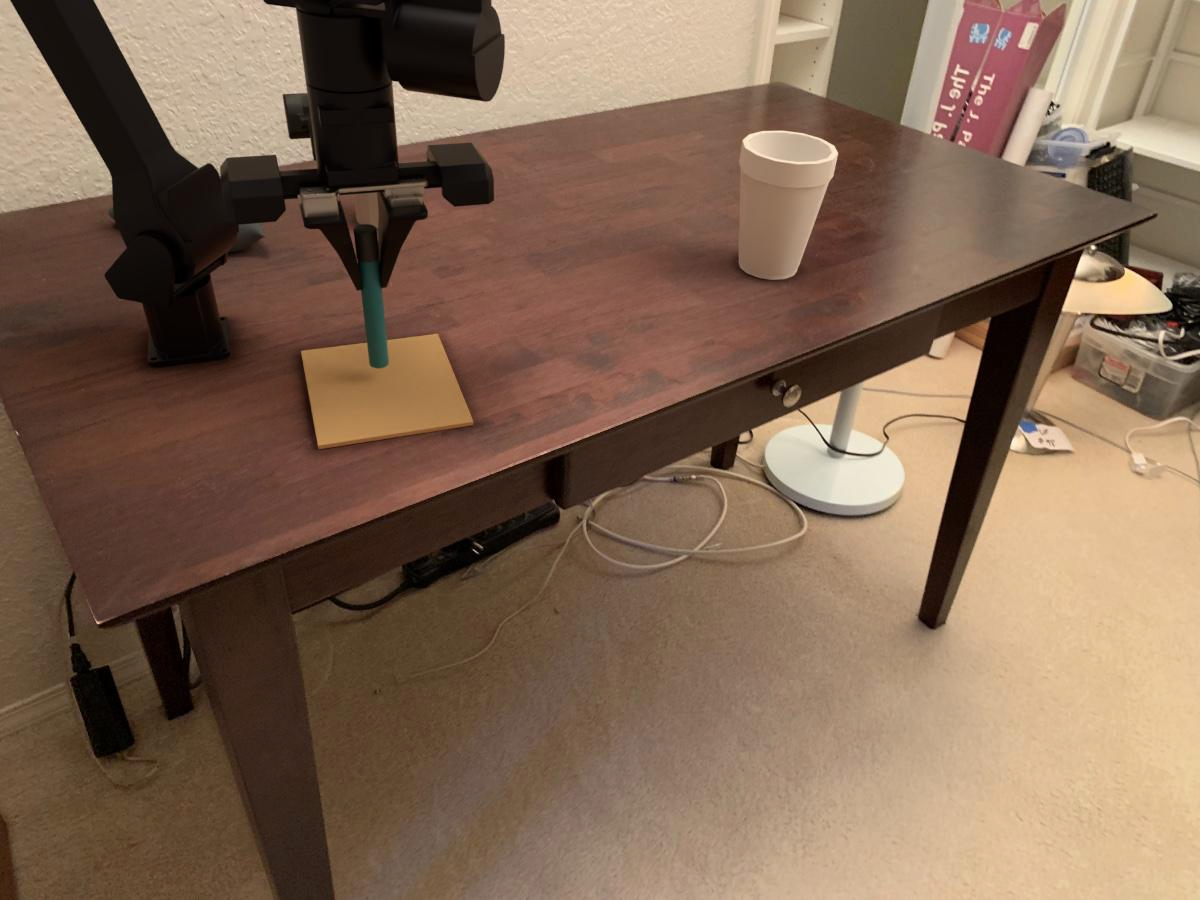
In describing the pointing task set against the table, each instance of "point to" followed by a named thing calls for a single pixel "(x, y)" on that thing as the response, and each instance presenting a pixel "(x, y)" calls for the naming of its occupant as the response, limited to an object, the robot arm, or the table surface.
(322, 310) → the table surface
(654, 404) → the table surface
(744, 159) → the foam cup
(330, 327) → the table surface
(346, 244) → the robot arm
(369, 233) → the pen
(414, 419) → the desk mat
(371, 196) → the pot
